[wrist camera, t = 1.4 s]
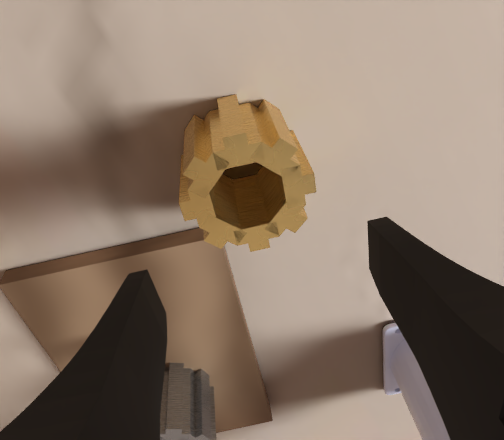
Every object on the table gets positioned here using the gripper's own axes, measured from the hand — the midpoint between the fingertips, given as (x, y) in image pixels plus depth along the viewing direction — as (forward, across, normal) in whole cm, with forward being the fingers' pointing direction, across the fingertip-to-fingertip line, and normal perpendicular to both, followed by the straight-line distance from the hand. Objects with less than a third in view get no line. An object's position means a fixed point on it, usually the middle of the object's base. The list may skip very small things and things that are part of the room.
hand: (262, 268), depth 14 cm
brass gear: (+9, 0, 0) cm, 9 cm away
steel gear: (+8, +8, +16) cm, 19 cm away
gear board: (+9, +8, +13) cm, 18 cm away
